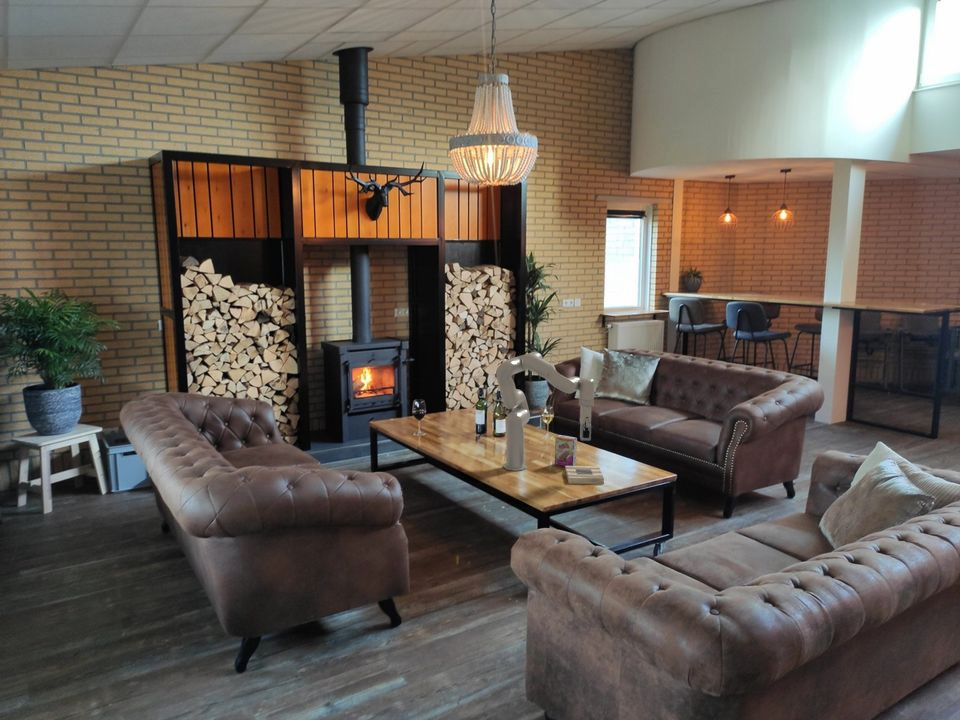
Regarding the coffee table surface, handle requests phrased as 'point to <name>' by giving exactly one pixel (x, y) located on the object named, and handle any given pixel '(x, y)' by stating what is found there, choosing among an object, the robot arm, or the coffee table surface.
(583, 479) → the birch base
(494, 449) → the coffee table surface
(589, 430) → the slate block
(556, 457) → the candy bar box
